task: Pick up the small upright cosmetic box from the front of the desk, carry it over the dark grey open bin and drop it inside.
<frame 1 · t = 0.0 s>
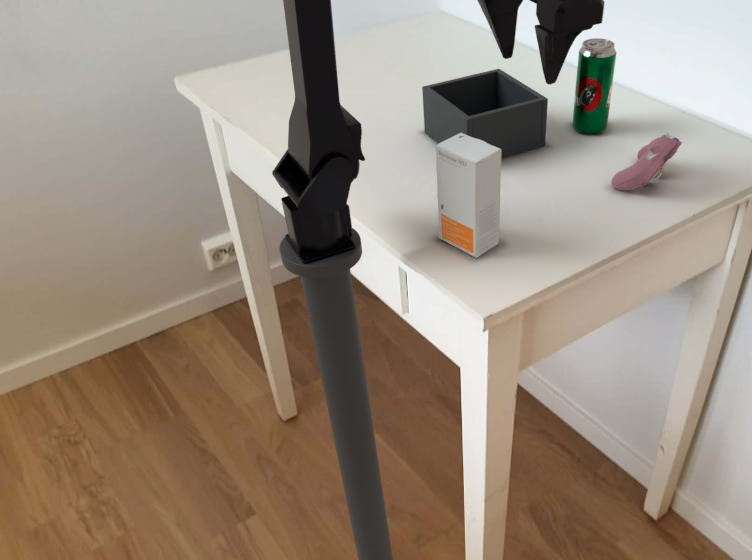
hand: (528, 70, 86), 14 cm above the table, tool pointing down, fingers open, 9 cm apart
cosmetic box: (469, 243, 85), on the table
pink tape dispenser: (644, 181, 95), on the table
dark grey open bin: (483, 139, 104), on the table
soda can: (589, 129, 106), on the table
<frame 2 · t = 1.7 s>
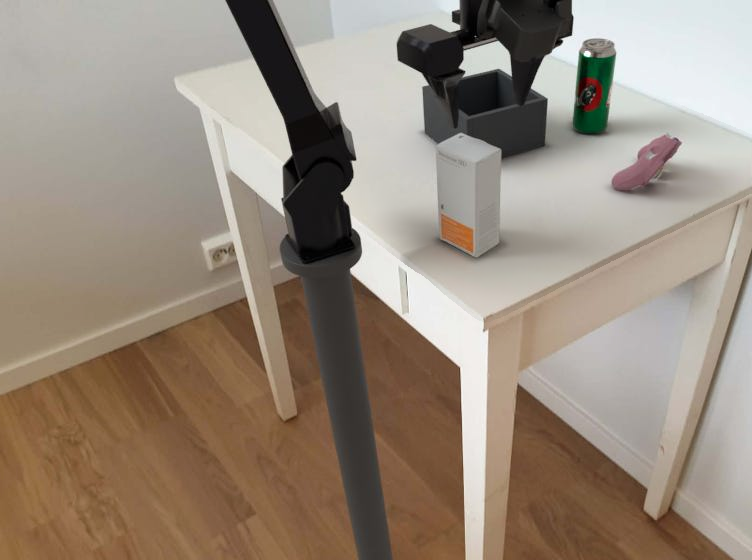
hand: (487, 116, 79), 13 cm above the table, tool pointing down, fingers open, 9 cm apart
nothing on the table moved.
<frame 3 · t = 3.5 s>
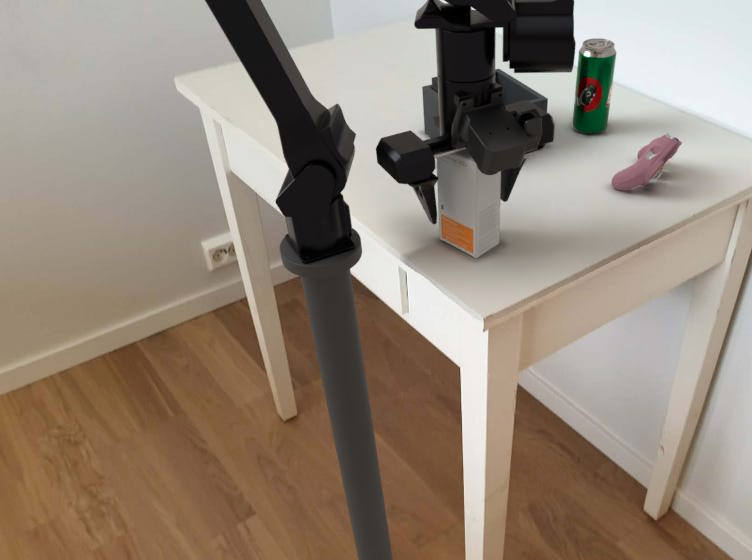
hand: (468, 211, 82), 4 cm above the table, tool pointing down
cosmetic box: (469, 244, 85), on the table, touching gripper
everything else where it was.
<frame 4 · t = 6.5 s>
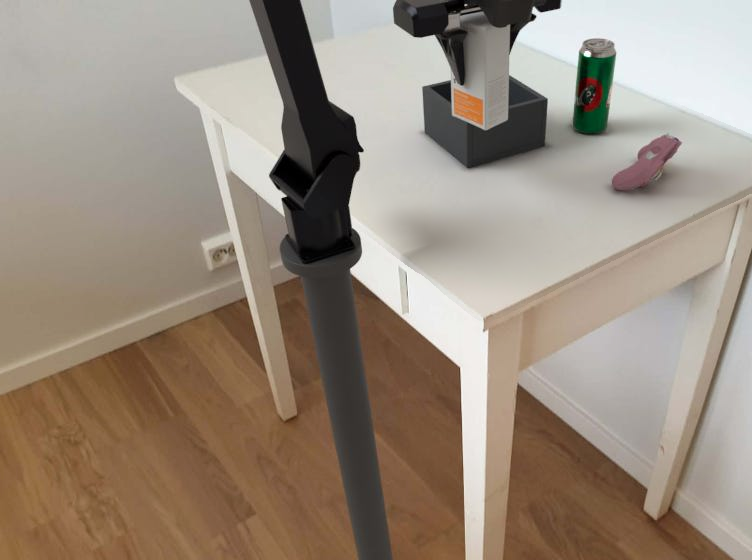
hand: (479, 80, 87), 13 cm above the table, tool pointing down, fingers closed on cosmetic box, 5 cm apart
cosmetic box: (480, 120, 90), point 8 cm above the table, touching gripper
everything else where it was.
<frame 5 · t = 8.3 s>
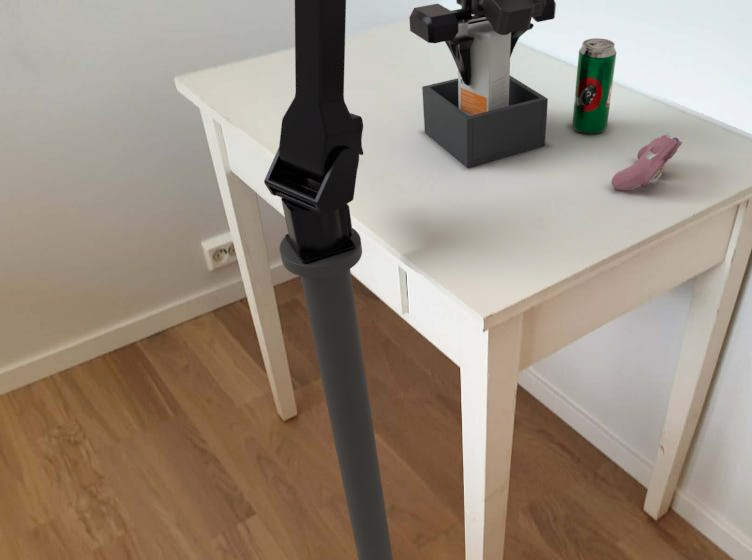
hand: (483, 80, 98), 8 cm above the table, tool pointing down, fingers closed on cosmetic box, 5 cm apart
cosmetic box: (483, 116, 102), point 3 cm above the table, touching gripper
everything else where it was.
when the fingers open (6 cm above the table, at t = 9.6 s): cosmetic box stays where it is, resting on dark grey open bin.
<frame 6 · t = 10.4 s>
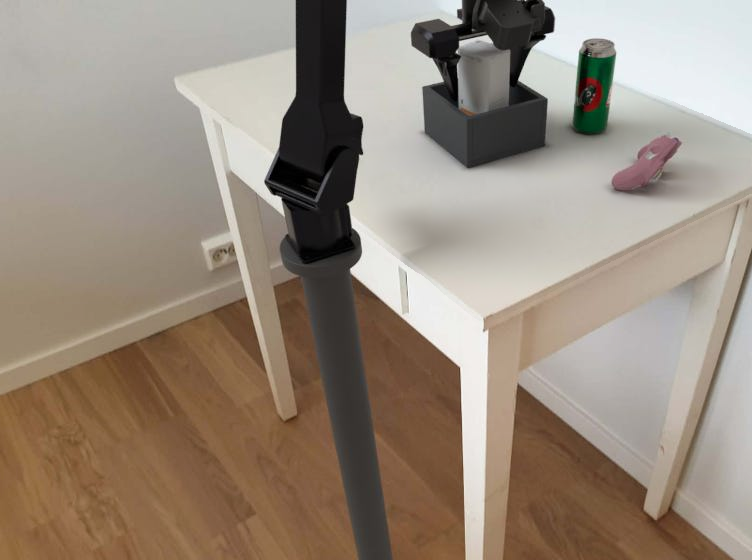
hand: (484, 93, 100), 7 cm above the table, tool pointing down, fingers open, 9 cm apart
cosmetic box: (483, 135, 104), point 1 cm above the table, touching dark grey open bin
everything else where it was.
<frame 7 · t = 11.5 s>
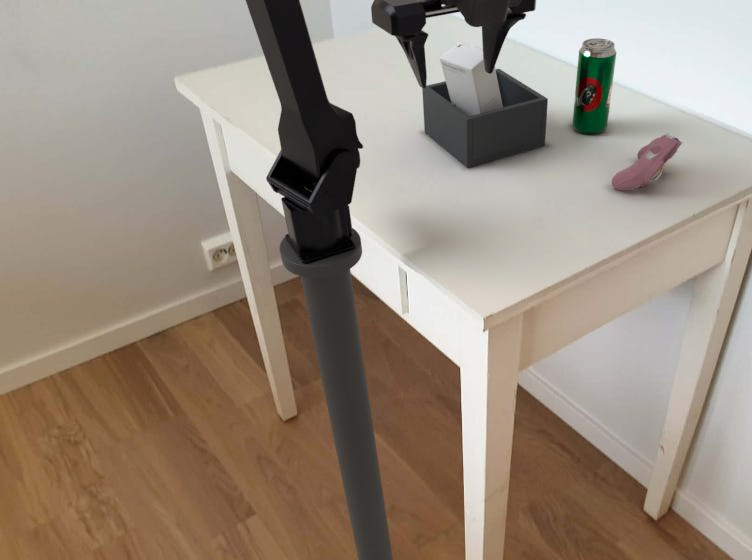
hand: (456, 79, 88), 13 cm above the table, tool pointing down, fingers open, 9 cm apart
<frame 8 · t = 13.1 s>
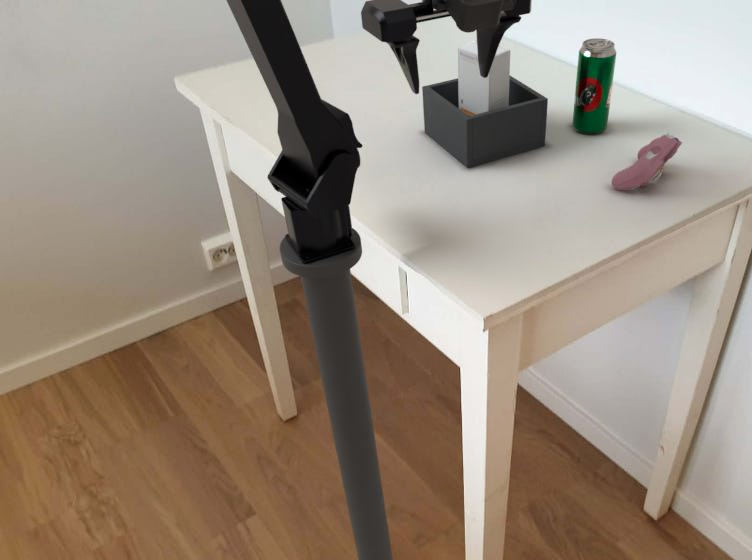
hand: (450, 84, 86), 13 cm above the table, tool pointing down, fingers open, 9 cm apart
at the end: cosmetic box inside the target area in the dark grey open bin (0.1 cm from its centre), point 0.6 cm above the dark grey open bin's base; the gripper is holding nothing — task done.
